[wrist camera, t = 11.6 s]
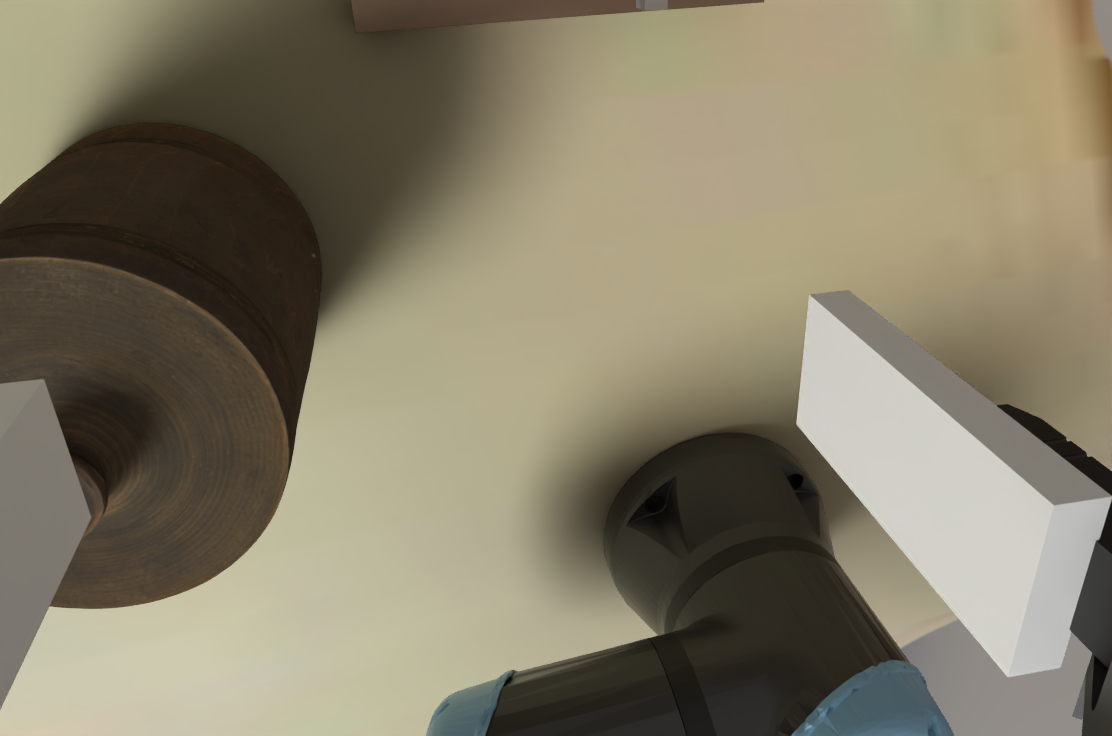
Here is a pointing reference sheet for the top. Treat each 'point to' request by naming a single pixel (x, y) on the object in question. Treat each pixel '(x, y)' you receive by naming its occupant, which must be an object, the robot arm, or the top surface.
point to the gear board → (498, 11)
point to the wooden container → (162, 347)
